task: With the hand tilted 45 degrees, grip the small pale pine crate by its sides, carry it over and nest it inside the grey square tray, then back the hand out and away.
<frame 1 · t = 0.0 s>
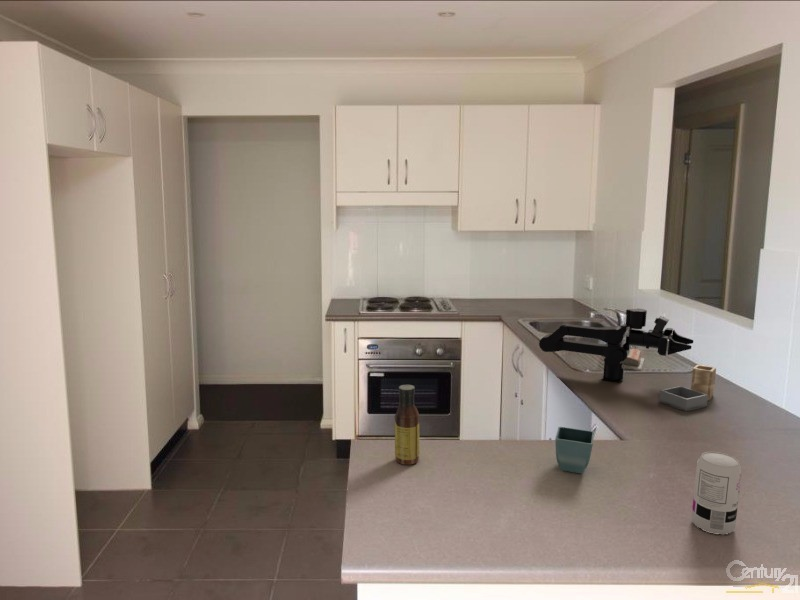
hand: (692, 344, 217), 17 cm above the worktop, fingers open, 9 cm apart
flower pot: (572, 469, 158), on the worktop
tall pine crate: (701, 396, 214), on the worktop
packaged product: (629, 364, 254), on the worktop
sauce bottle: (406, 461, 161), on the worktop
supplement can: (712, 527, 132), on the worktop
grey square tray: (682, 404, 206), on the worktop
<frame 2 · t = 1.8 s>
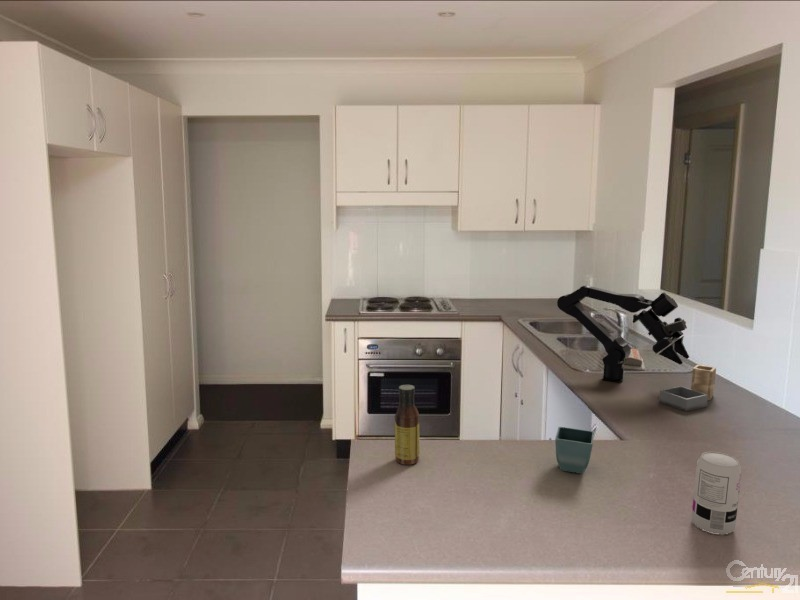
hand: (684, 360, 216), 11 cm above the worktop, fingers open, 9 cm apart
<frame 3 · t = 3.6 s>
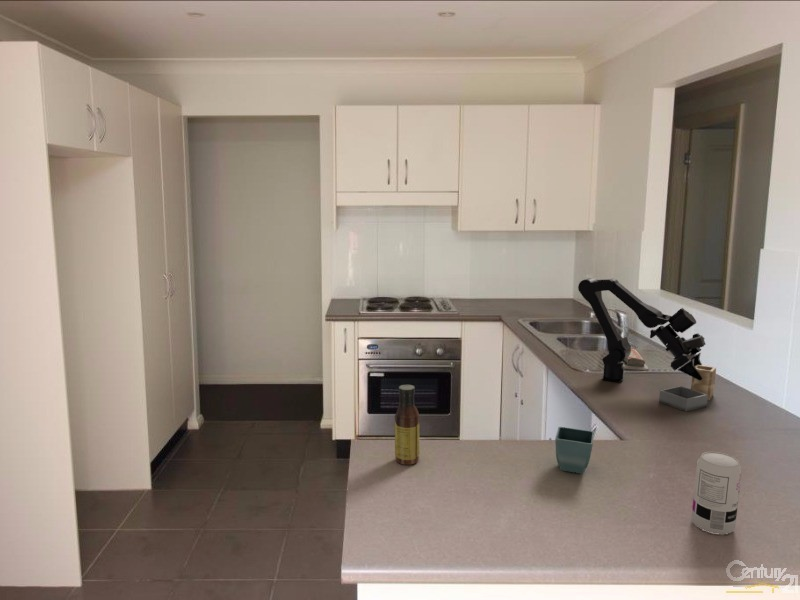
hand: (703, 377, 213), 7 cm above the worktop, fingers closed on tall pine crate, 6 cm apart
tall pine crate: (701, 396, 214), on the worktop, touching gripper
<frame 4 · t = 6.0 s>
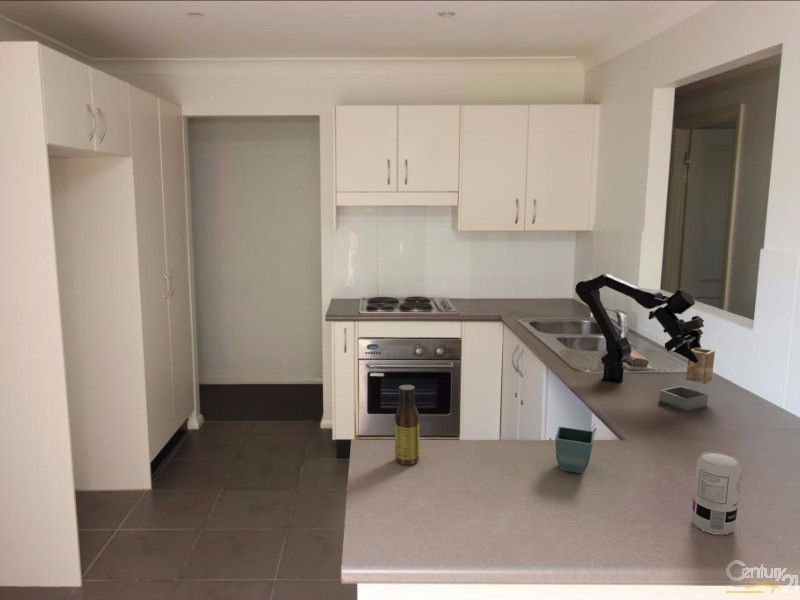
hand: (700, 360, 209), 13 cm above the worktop, fingers closed on tall pine crate, 6 cm apart
tall pine crate: (699, 379, 210), point 7 cm above the worktop, touching gripper
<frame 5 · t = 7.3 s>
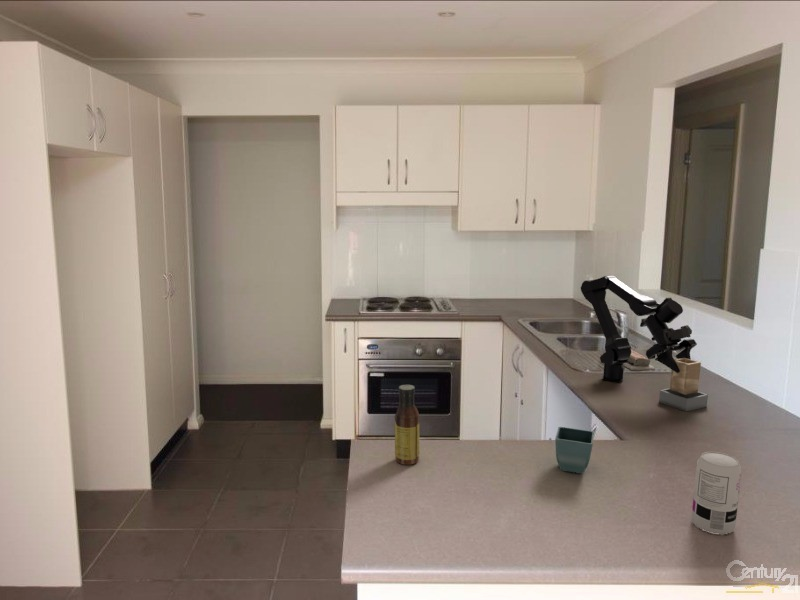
hand: (685, 371, 204), 11 cm above the worktop, fingers closed on tall pine crate, 6 cm apart
tall pine crate: (683, 390, 205), point 5 cm above the worktop, touching gripper
when the fingers open (9 cm above the worktop, at t = 8.3 s): tall pine crate drops 1 cm, resting on grey square tray.
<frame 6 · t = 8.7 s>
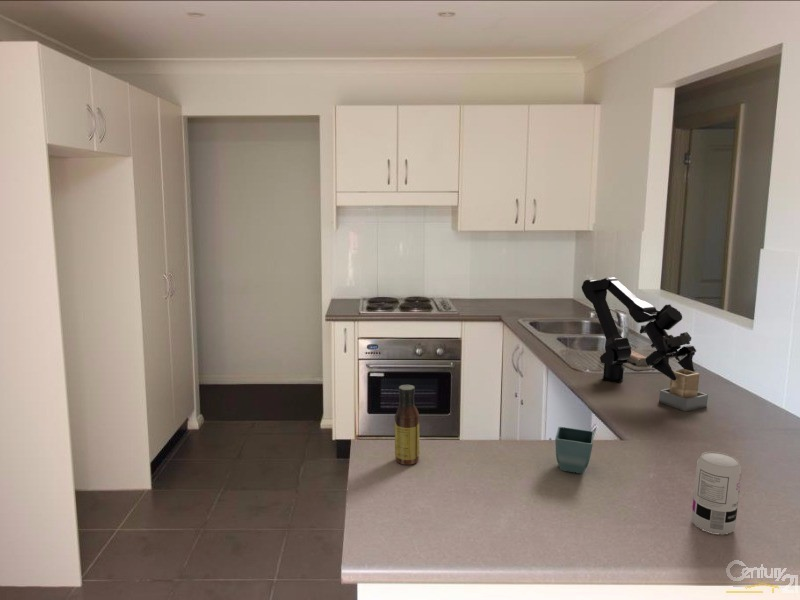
hand: (684, 378, 205), 9 cm above the worktop, fingers open, 9 cm apart
tall pine crate: (682, 401, 206), point 1 cm above the worktop, touching grey square tray
grey square tray: (682, 404, 206), on the worktop, touching tall pine crate
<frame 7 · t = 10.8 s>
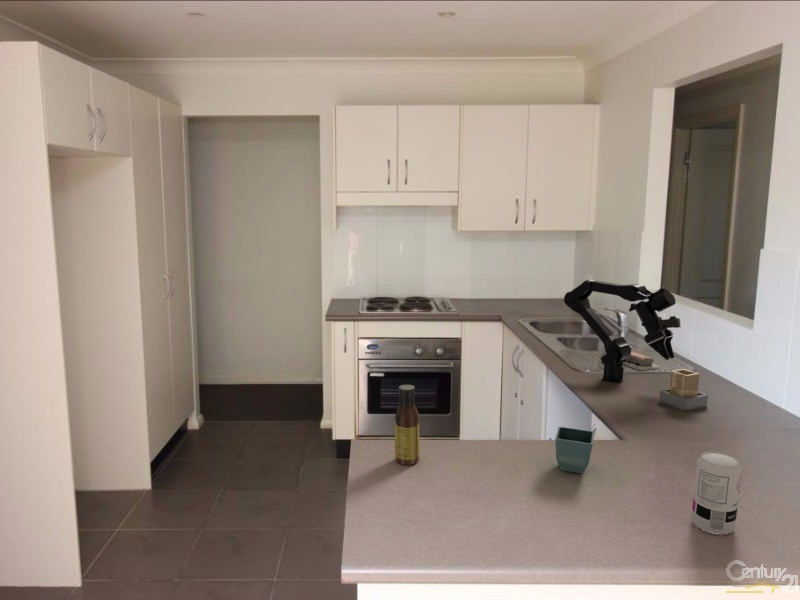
hand: (670, 358, 215), 12 cm above the worktop, fingers open, 9 cm apart
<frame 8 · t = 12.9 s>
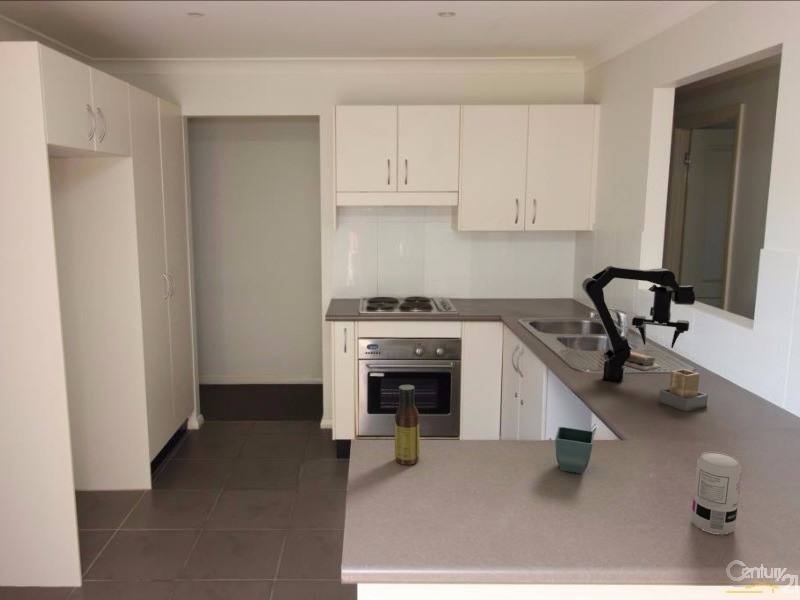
hand: (658, 346, 228), 13 cm above the worktop, fingers open, 9 cm apart
at the end: tall pine crate 0.1 cm off-centre on the grey square tray, point 0.8 cm above the grey square tray's base; tall pine crate tilted 0°; the gripper is holding nothing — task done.
